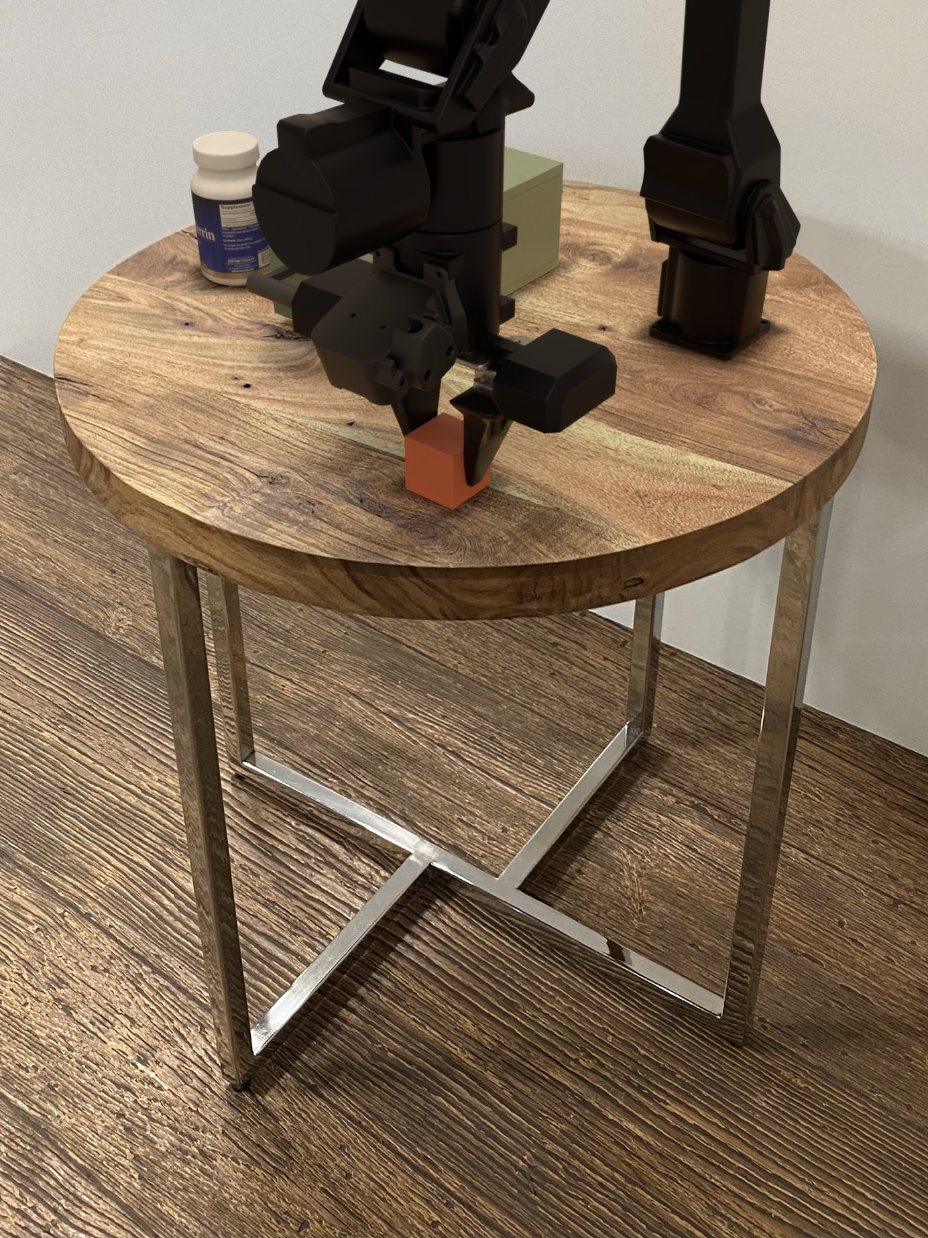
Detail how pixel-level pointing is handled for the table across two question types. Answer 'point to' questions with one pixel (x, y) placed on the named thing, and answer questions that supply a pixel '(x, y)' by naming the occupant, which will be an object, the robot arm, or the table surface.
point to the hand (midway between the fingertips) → (447, 471)
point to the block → (439, 462)
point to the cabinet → (531, 217)
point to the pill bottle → (227, 208)
